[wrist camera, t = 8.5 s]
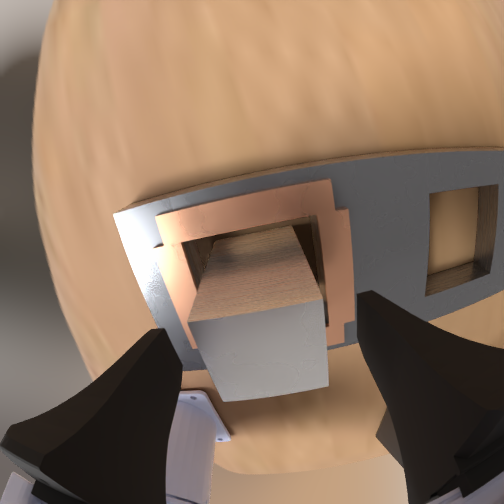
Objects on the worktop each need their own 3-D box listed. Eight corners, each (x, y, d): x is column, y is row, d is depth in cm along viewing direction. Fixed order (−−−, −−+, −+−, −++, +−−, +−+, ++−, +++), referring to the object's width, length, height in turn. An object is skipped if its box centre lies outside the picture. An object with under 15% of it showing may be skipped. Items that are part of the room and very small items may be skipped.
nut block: (233, 304, 16) (223, 402, 9) (215, 240, 14) (186, 322, 8) (302, 292, 15) (328, 386, 9) (291, 225, 14) (323, 298, 8)
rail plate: (186, 350, 17) (179, 374, 15) (129, 204, 13) (110, 215, 11) (493, 275, 15) (509, 289, 13) (501, 147, 11) (523, 151, 9)
